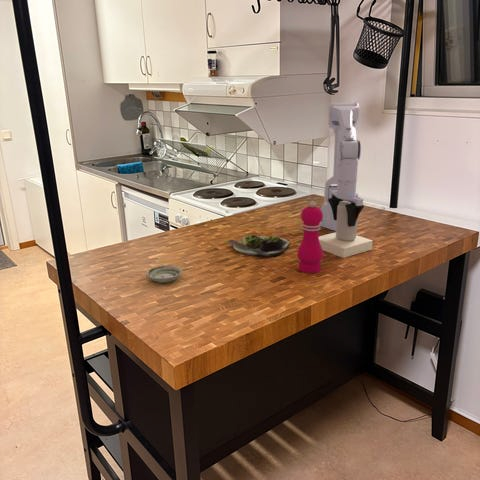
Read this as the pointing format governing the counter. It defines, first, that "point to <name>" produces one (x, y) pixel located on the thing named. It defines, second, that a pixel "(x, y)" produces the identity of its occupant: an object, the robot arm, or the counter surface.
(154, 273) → the saucer
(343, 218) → the beverage can
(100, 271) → the counter surface
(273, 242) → the salad plate
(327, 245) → the block
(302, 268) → the pepper mill
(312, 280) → the counter surface
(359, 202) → the robot arm
